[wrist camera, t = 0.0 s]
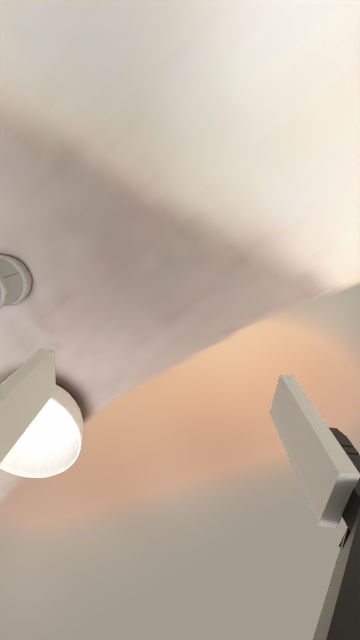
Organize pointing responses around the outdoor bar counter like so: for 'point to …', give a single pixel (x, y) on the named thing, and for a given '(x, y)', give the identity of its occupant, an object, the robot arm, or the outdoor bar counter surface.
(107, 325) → the outdoor bar counter surface
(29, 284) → the mug
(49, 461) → the bowl
